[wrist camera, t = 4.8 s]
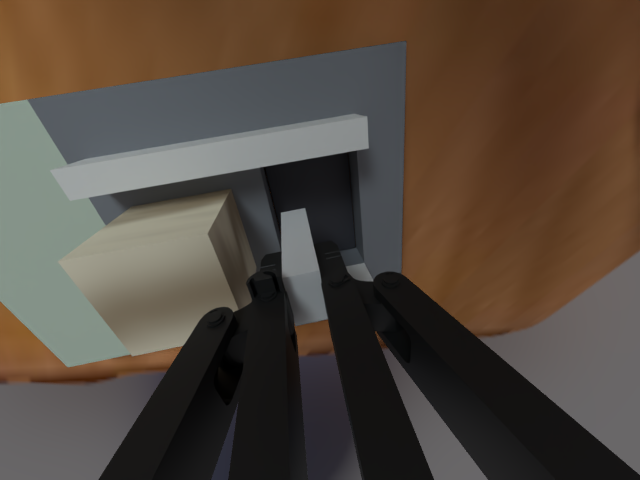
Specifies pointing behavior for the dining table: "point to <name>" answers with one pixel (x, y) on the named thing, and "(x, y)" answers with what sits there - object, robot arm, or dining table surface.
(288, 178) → the pit deck
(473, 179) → the dining table surface
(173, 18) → the dining table surface
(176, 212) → the maple block
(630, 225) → the dining table surface
